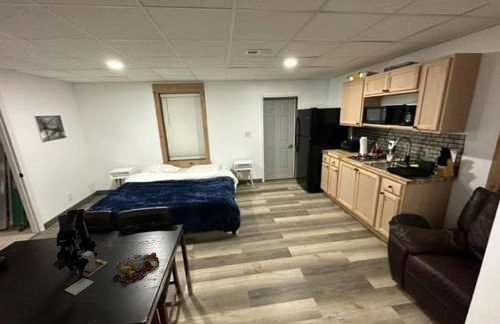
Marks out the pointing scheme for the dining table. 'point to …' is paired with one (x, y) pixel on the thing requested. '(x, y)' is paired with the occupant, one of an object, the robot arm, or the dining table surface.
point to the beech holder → (95, 269)
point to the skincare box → (91, 258)
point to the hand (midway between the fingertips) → (76, 272)
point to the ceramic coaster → (79, 286)
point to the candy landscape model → (136, 266)
